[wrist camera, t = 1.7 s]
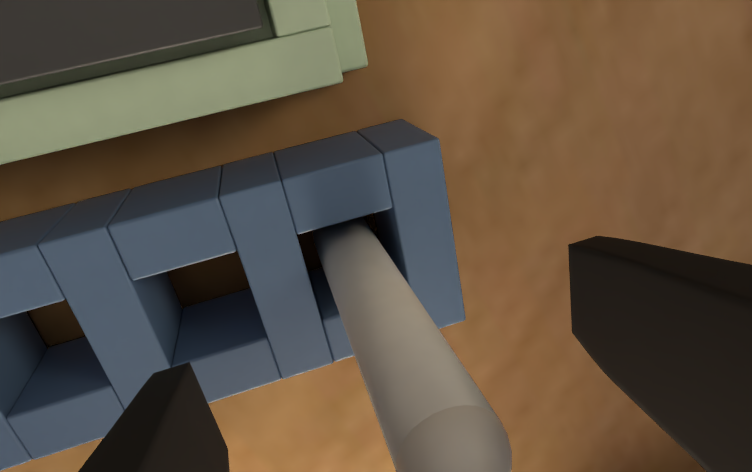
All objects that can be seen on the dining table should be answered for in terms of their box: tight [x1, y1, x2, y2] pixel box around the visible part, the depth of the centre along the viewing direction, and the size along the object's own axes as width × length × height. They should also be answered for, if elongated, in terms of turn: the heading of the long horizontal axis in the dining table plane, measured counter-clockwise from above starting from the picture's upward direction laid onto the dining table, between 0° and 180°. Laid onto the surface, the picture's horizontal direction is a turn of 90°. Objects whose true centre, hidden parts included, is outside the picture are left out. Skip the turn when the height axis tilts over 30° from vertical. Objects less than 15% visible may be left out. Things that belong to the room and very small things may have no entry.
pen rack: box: [0, 119, 465, 471], centre depth 13 cm, size 13×5×3 cm, turn 101°
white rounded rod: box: [313, 217, 512, 472], centre depth 11 cm, size 2×2×10 cm
